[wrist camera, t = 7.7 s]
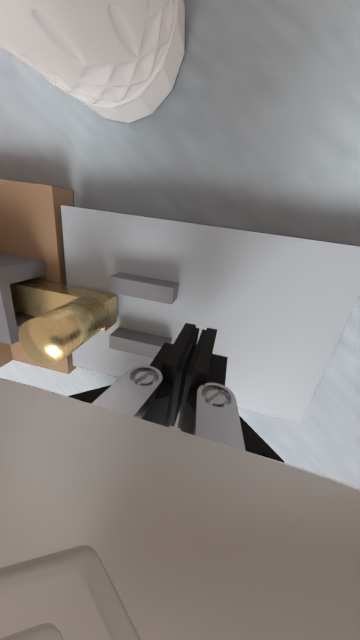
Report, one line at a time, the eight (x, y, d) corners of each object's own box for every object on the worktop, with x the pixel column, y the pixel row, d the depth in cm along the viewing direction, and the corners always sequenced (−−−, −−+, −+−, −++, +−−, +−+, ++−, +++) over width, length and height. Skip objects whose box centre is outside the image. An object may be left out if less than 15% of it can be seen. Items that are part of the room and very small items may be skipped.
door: (368, 228, 13) (550, 228, 5) (289, 412, 18) (326, 533, 11) (-20, 178, 16) (-218, 139, 9) (13, 344, 22) (-94, 401, 15)
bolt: (119, 292, 15) (62, 325, 10) (119, 325, 16) (65, 370, 11) (1, 269, 16) (-104, 288, 11) (7, 301, 17) (-87, 331, 12)
